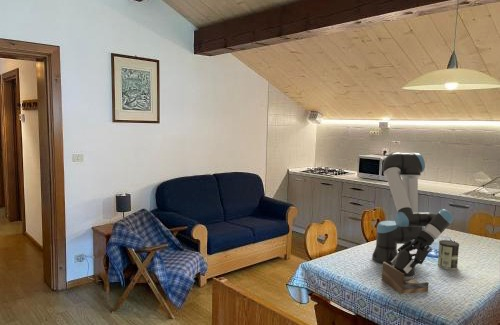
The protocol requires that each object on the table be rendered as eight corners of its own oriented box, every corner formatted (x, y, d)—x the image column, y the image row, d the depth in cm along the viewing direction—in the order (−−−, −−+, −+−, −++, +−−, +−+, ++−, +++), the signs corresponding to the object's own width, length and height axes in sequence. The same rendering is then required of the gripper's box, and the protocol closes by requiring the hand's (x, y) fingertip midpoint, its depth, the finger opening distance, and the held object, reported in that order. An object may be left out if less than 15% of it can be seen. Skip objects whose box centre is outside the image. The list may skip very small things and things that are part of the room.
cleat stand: (407, 278, 201) (408, 260, 200) (427, 291, 185) (429, 271, 184) (381, 280, 197) (382, 261, 196) (400, 294, 182) (401, 274, 181)
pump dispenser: (413, 285, 184) (415, 255, 182) (390, 280, 189) (392, 250, 188) (416, 278, 192) (418, 249, 191) (394, 273, 198) (396, 245, 196)
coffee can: (454, 264, 223) (455, 240, 222) (459, 270, 213) (461, 246, 212) (435, 262, 225) (437, 239, 224) (440, 268, 215) (442, 244, 214)
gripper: (448, 247, 182) (417, 281, 180) (418, 233, 203) (390, 264, 201) (440, 236, 180) (408, 271, 178) (410, 224, 201) (381, 255, 199)
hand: (398, 267), depth 189 cm, fingers closed on pump dispenser, 9 cm apart
